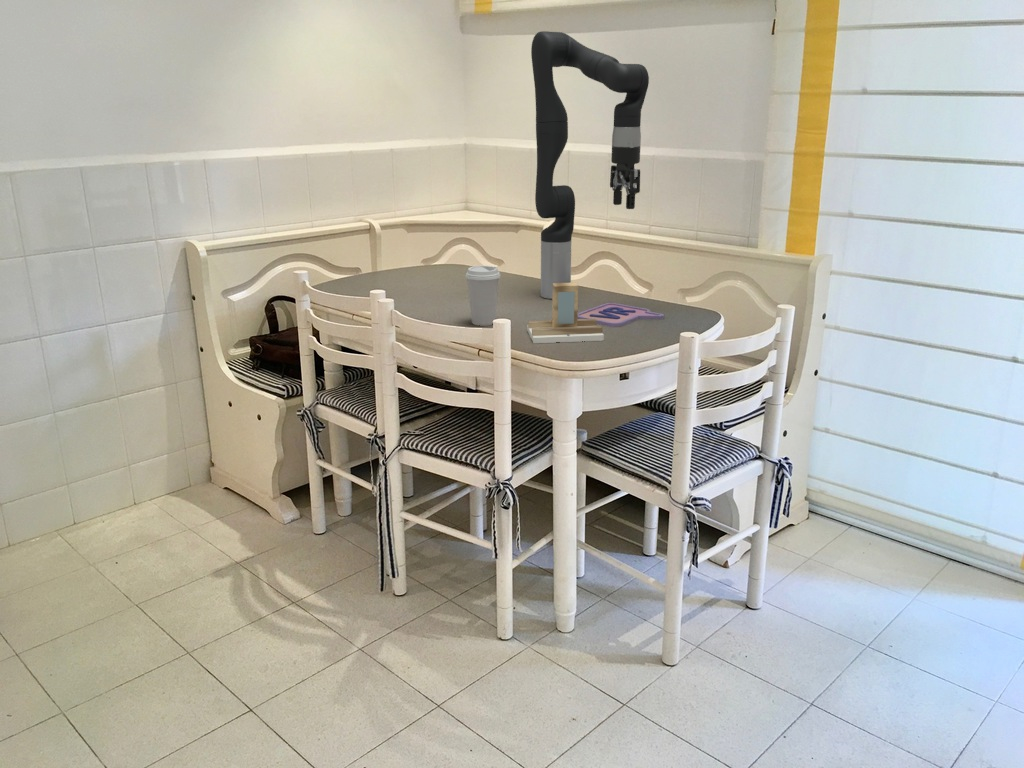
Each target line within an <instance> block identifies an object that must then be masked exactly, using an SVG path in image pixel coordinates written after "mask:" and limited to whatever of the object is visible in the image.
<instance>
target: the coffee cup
mask: <svg viewBox="0 0 1024 768" xmlns="http://www.w3.org/2000/svg"><path fill="white" fill-rule="evenodd" d="M498 269H499V268H498V267H496V266H493V265H474V266H471V267H468V269H467V272H466V273H465V276H464V277H465V279H466V281H467V288H468V289H467V290H468V299H469V306H470V307H469V308H470V319H471V324H473V325H475V326H479V325H480V326H482V327H487V326H493V325H492V321H493V319H495V318H496V319H497V309H498V307H497V306H498V294H499V279H500V278H501V276H502V275H501V272H500V271H499V270H498ZM480 326H479V327H480Z"/></svg>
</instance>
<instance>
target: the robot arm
mask: <svg viewBox="0 0 1024 768" xmlns="http://www.w3.org/2000/svg"><path fill="white" fill-rule="evenodd" d="M530 50H531V53H530V54H531V55H530V56H531V66H532V73H533V82H534V83H533V84H534V91H535V92H534V97H535V98H534V100H535V138H536V139H535V140H536V175H535V176H536V181H535V194H534V195H535V197H534V200H535V201H534V202H535V210H536V213H537V215H538V216H539V218H541V219H554V221H553V222H552V223H551V224H550V225H549V226H547V227H546V228H544V229H542V231H541V233H540V297H541V298H545V299H548V300H549V299H550V300H552V296H553V283H572V280H571V279H572V276H571V275H572V235H573V232H574V228H575V211H576V197H575V193H574V190H573V189H572V187H571V186H569V185H565V184H564V185H563V184H562V185H554V173H555V168H556V165H557V163H558V161H559V159H560V157H561V155H562V154H563V152H564V150H565V147H566V145H567V142H568V137H569V125H568V124H569V121H568V113H567V110H566V108H565V105H564V103H563V100H561V97H560V96H559V94H558V91H557V90H556V86H555V82H554V74H553V73H554V72H553V68H560V67H570V68H575V69H579V71H580V72H581V73H582V74H583V75H584V76H586V77H587V78H588V79H591V80H593V81H596V82H598V83H600V84H603V85H604V86H605V87H606V88H607V89H609V90H610V91H612V92H615V93H618V94H620V93H621V94H626V95H625V98H624V100H623V102H620V103H616V105H615V106H614V111H613V129H612V134H611V135H612V137H611V163H612V164H613V165H610V178H609V180H610V181H609V187H610V188H612V191H613V197H612V198H613V201H612V204H613V205H615V206H619V205H622V202H623V200H622V199H623V188H624V189H625V191H626V198H625V200H626V201H625V208H626V210H634V209H635V206H636V195H637V194H639V193H640V192H641V169H638V168H636V169H635V165H636V164H639V163H640V162H641V160H640V159H641V143H642V142H641V141H642V132H641V123H642V122H641V119H642V118H641V117H642V109H643V106H644V104H645V103H644V102H645V99H646V95H647V92H648V88H649V83H650V76H649V72H648V70H647V68H646V67H645V65H643V64H642V63H623V62H622V63H620V61H619V60H618V59H617V58H615V57H613V56H612V55H608V54H606V53H604V52H600V51H598V50H593V49H592V48H589V47H587V46H586V45H584V44H582V43H581V42H579V41H577V40H576V39H574V38H573V37H572V36H570V35H569V34H566V33H564V32H563V31H562V32H560V31H545V30H542V31H539V32H537V33H536V34H535V35H534V36H533V39H532V42H531V49H530ZM614 164H615V165H614Z"/></svg>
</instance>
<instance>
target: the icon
mask: <svg viewBox="0 0 1024 768" xmlns="http://www.w3.org/2000/svg"><path fill="white" fill-rule="evenodd" d="M662 318H665V314H663V313H660V312H654V311H651V309H649V308H645V307H644V308H643V307H639V306H634V305H627V304H622V303H618V302H606V303H603V304H601V305H598V306H595V307H591V308H589V309H585V310H583V311H580V312H578V318H577V319H596V320H597V325H600V324H601V325H600V326H605V325H606V326H607V327H612V328H619V327H623V326H626V325H628V324H631V323H633V322H636V321H637V319H638V320H663V319H662ZM635 320H636V321H635ZM632 321H633V322H632ZM630 322H631V323H630ZM625 324H626V325H625Z"/></svg>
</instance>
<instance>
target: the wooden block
mask: <svg viewBox="0 0 1024 768" xmlns="http://www.w3.org/2000/svg"><path fill="white" fill-rule="evenodd" d="M551 300H552V302H551V303H552V304H551V305H552V307H551V310H552V313H551V315H552V316H551V320H552V328H559V327H577V318H578V313H579V311H578V310H579V309H578V307H579V303H578V302H579V285H578V284H577V282H571V283H553V296H552V299H551Z"/></svg>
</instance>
